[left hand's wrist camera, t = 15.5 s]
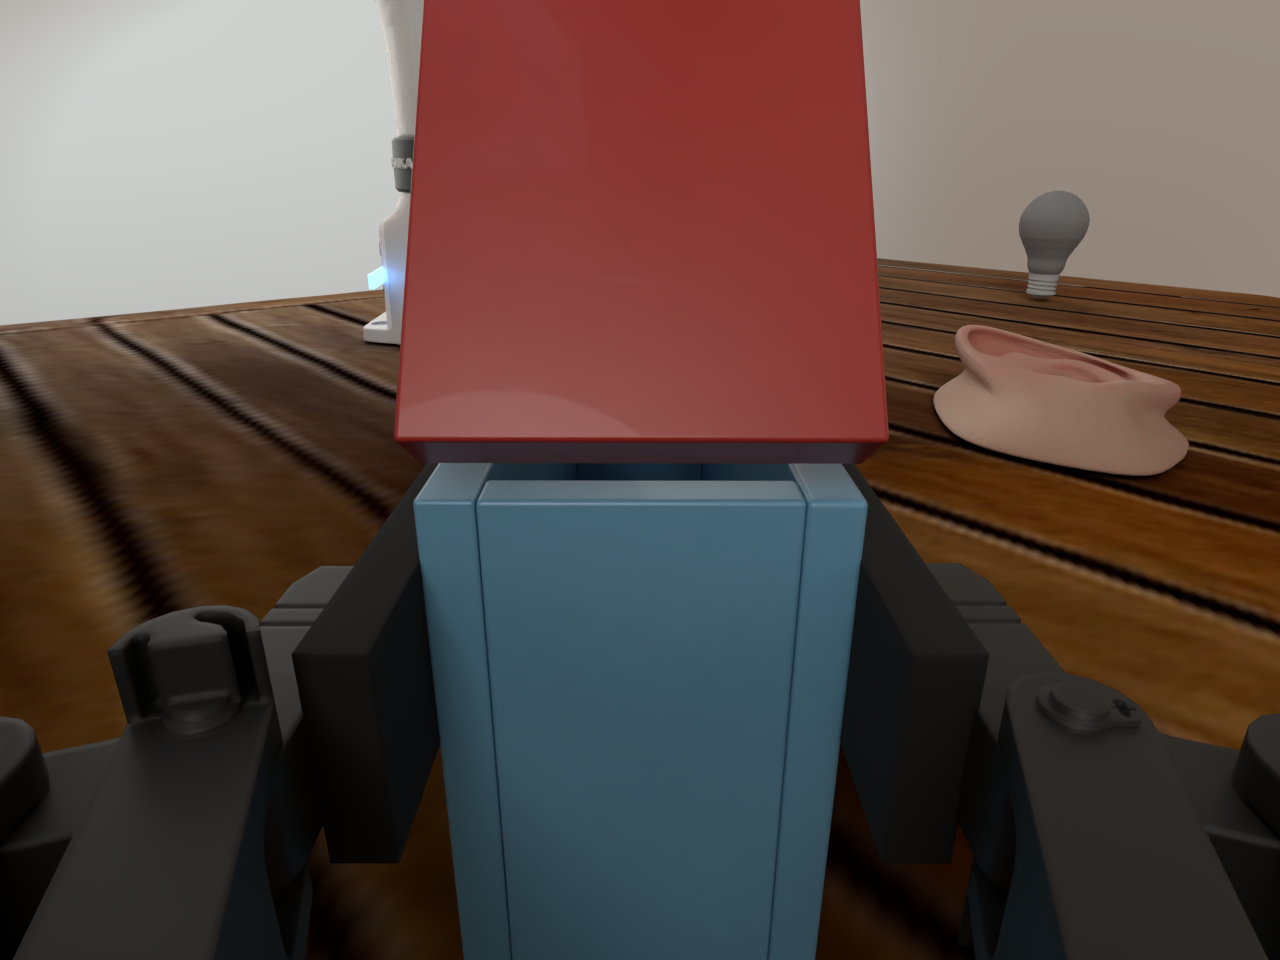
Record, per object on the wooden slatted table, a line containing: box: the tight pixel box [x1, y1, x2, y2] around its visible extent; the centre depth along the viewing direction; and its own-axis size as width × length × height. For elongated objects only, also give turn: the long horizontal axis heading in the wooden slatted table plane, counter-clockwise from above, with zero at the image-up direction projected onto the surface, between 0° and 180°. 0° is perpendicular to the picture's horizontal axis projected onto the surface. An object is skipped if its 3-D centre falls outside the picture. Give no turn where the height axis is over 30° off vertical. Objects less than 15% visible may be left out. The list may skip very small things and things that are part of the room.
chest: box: [413, 463, 868, 960], centre depth 18 cm, size 15×5×9 cm, turn 0°
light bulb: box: [1019, 191, 1089, 299], centre depth 78 cm, size 6×6×10 cm
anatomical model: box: [934, 325, 1189, 476], centre depth 40 cm, size 13×4×12 cm
